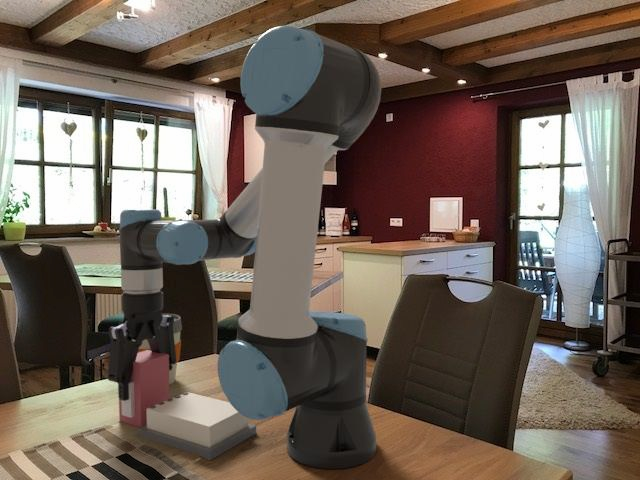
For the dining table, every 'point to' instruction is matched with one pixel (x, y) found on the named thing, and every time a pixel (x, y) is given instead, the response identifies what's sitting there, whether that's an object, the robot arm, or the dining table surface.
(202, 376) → the dining table surface
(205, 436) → the white notepad
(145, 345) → the reusable coffee cup
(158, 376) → the pink block
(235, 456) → the dining table surface
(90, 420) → the dining table surface
